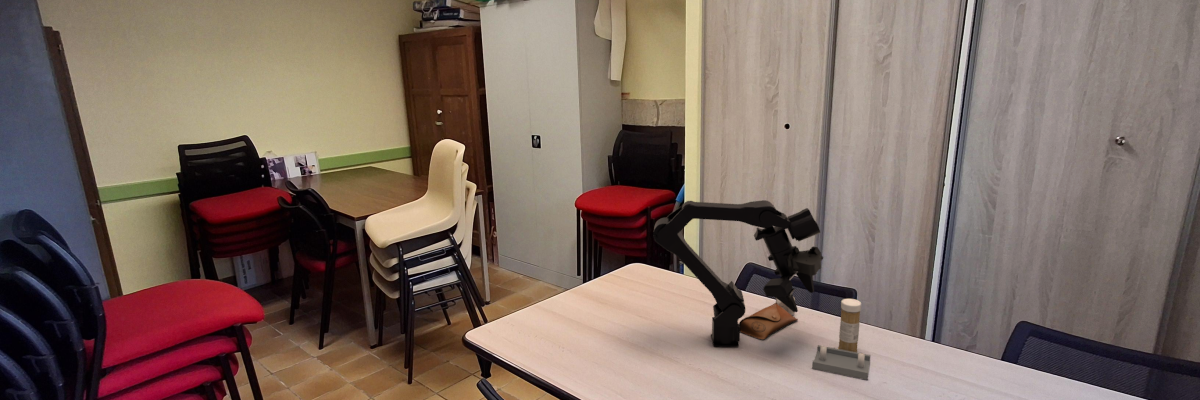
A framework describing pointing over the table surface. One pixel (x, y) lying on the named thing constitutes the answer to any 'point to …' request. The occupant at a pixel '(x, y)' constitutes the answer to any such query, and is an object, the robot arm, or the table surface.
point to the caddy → (842, 362)
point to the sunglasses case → (766, 322)
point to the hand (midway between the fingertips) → (804, 301)
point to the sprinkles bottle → (849, 324)
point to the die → (785, 306)
